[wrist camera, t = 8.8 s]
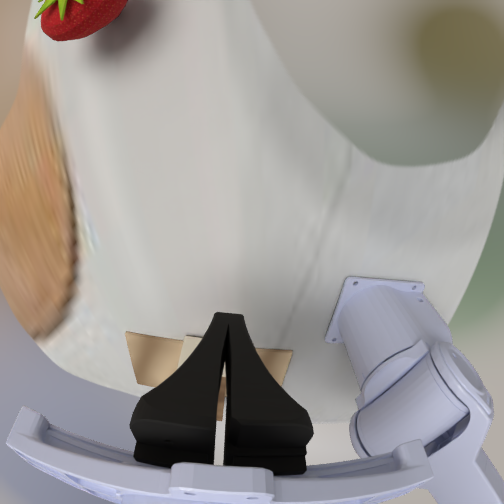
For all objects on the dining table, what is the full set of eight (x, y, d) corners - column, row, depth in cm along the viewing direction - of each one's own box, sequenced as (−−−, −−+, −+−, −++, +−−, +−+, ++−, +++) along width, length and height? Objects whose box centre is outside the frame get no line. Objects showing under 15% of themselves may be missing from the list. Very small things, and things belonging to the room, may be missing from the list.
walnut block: (226, 374, 23) (222, 421, 27) (229, 340, 27) (224, 390, 31) (177, 368, 23) (182, 416, 27) (184, 335, 27) (187, 386, 31)
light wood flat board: (292, 350, 28) (292, 352, 28) (276, 397, 33) (276, 399, 32) (126, 331, 27) (125, 333, 27) (138, 381, 31) (137, 383, 31)
